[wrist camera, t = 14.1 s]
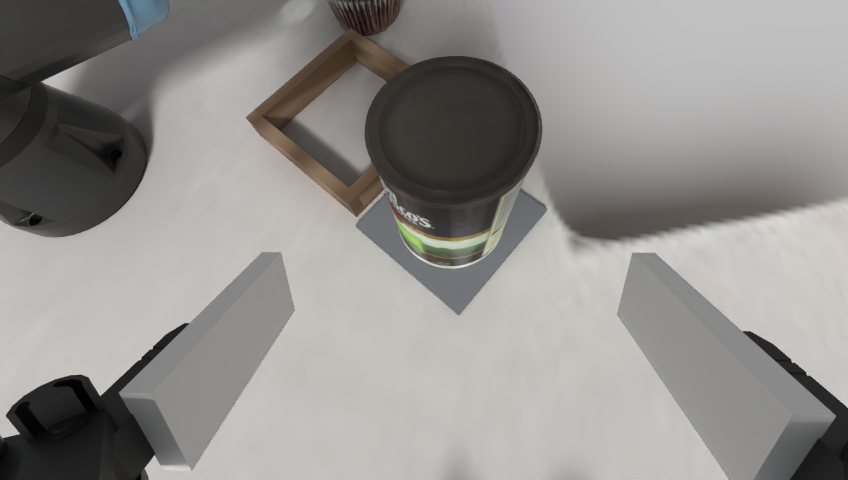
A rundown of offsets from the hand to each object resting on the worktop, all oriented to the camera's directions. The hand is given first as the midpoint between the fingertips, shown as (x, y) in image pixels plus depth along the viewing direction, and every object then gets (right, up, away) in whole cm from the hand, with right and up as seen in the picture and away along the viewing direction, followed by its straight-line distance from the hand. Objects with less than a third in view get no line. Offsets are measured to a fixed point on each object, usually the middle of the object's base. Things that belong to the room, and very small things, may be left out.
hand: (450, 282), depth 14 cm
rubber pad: (+1, +4, +21) cm, 21 cm away
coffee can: (+2, +4, +20) cm, 21 cm away
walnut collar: (-8, +14, +25) cm, 30 cm away
